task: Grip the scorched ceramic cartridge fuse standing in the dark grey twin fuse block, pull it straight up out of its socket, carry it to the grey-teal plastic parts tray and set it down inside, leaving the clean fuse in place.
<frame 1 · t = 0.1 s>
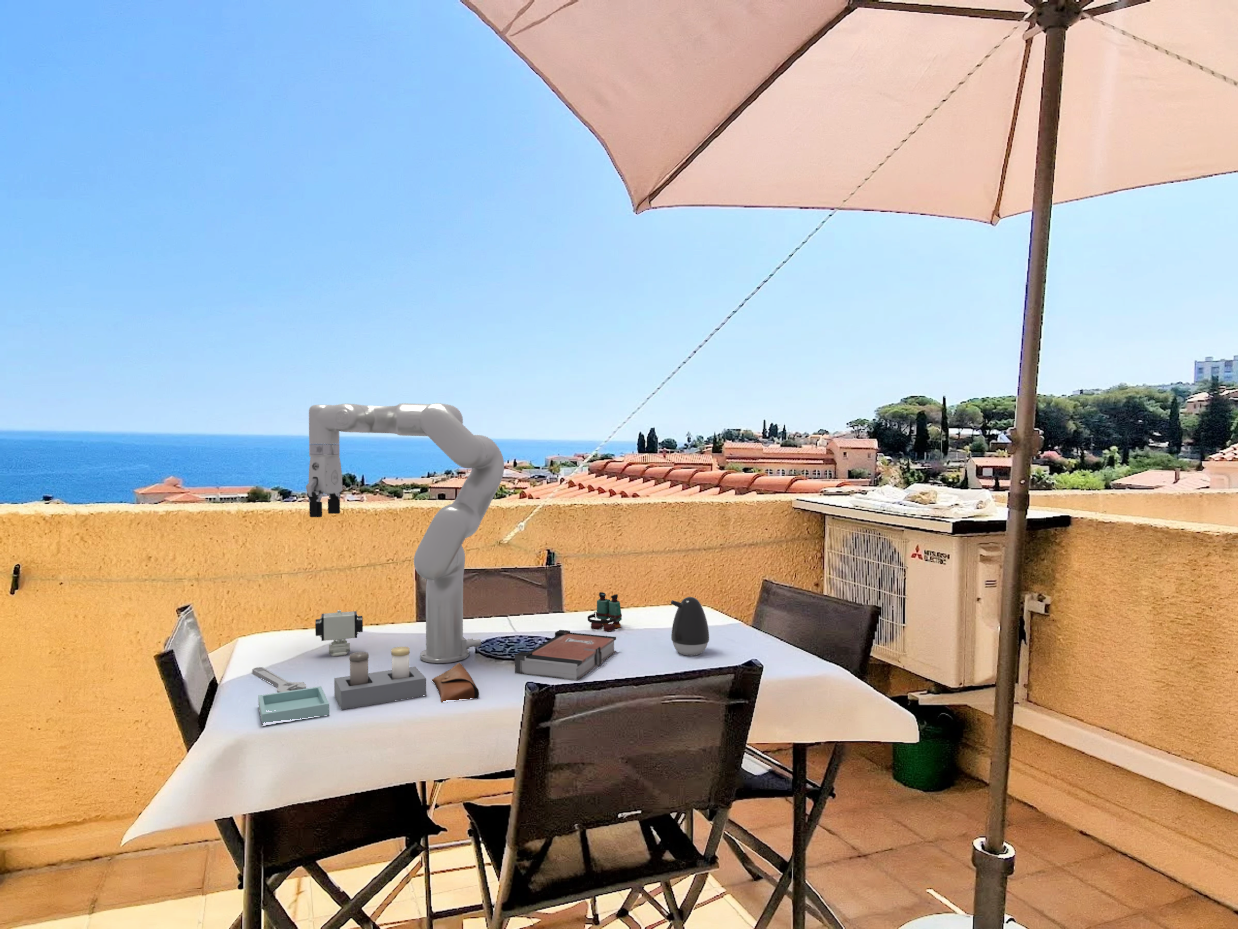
hand: (325, 515, 198), 37 cm above the table, tool pointing down, fingers open, 9 cm apart
pneumatic valve: (339, 655, 199), on the table
sunglasses case: (453, 691, 171), on the table
parts tray: (293, 711, 156), on the table
green twin tank jetpack: (604, 629, 226), on the table
fuse block: (380, 696, 166), on the table
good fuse: (400, 692, 168), resting in fuse block
pump dispenser: (689, 653, 200), on the table
blown fuse: (359, 699, 164), resting in fuse block
book: (569, 664, 192), on the table
adjustable wrench: (279, 685, 175), on the table
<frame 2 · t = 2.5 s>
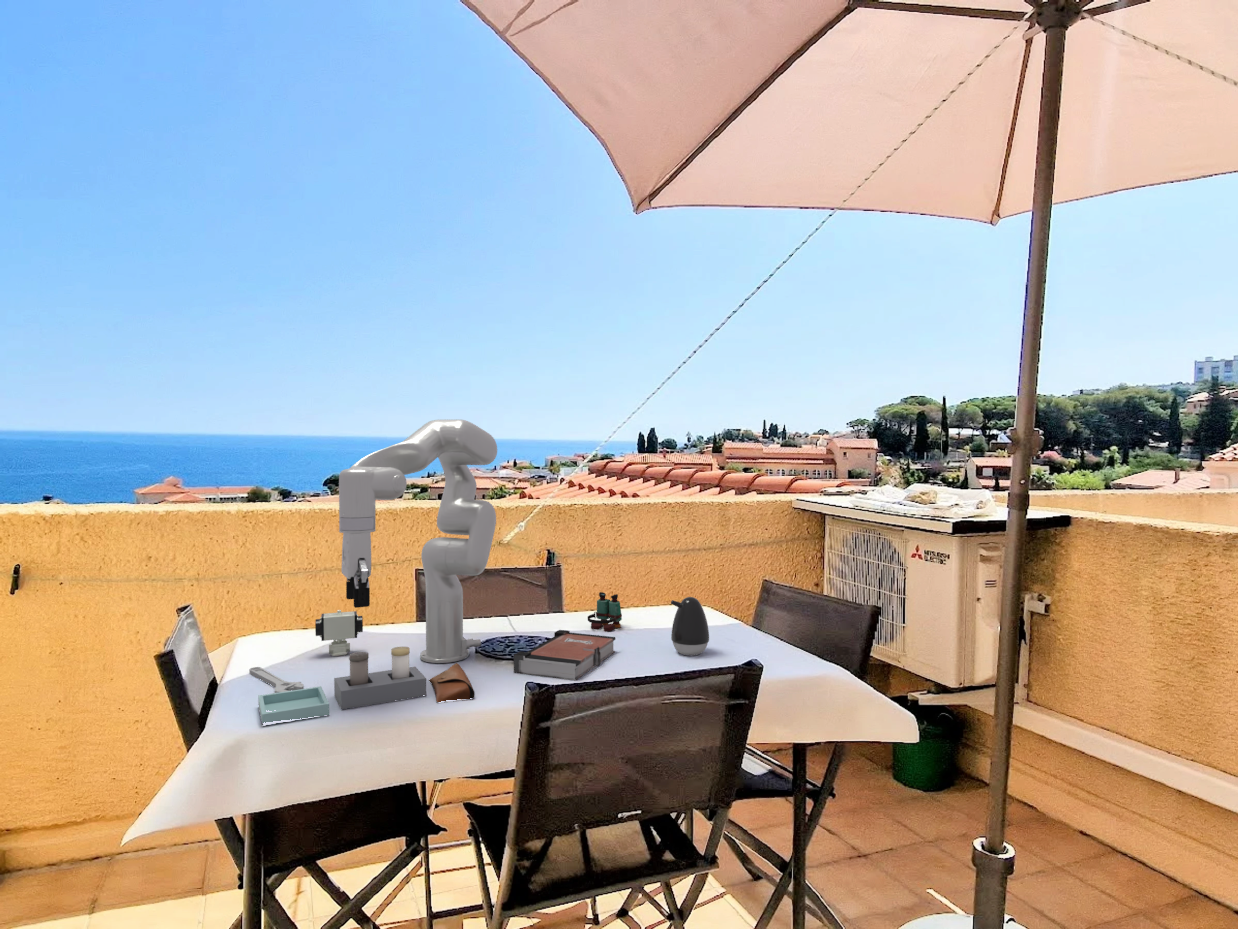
hand: (357, 602, 163), 22 cm above the table, tool pointing down, fingers open, 9 cm apart
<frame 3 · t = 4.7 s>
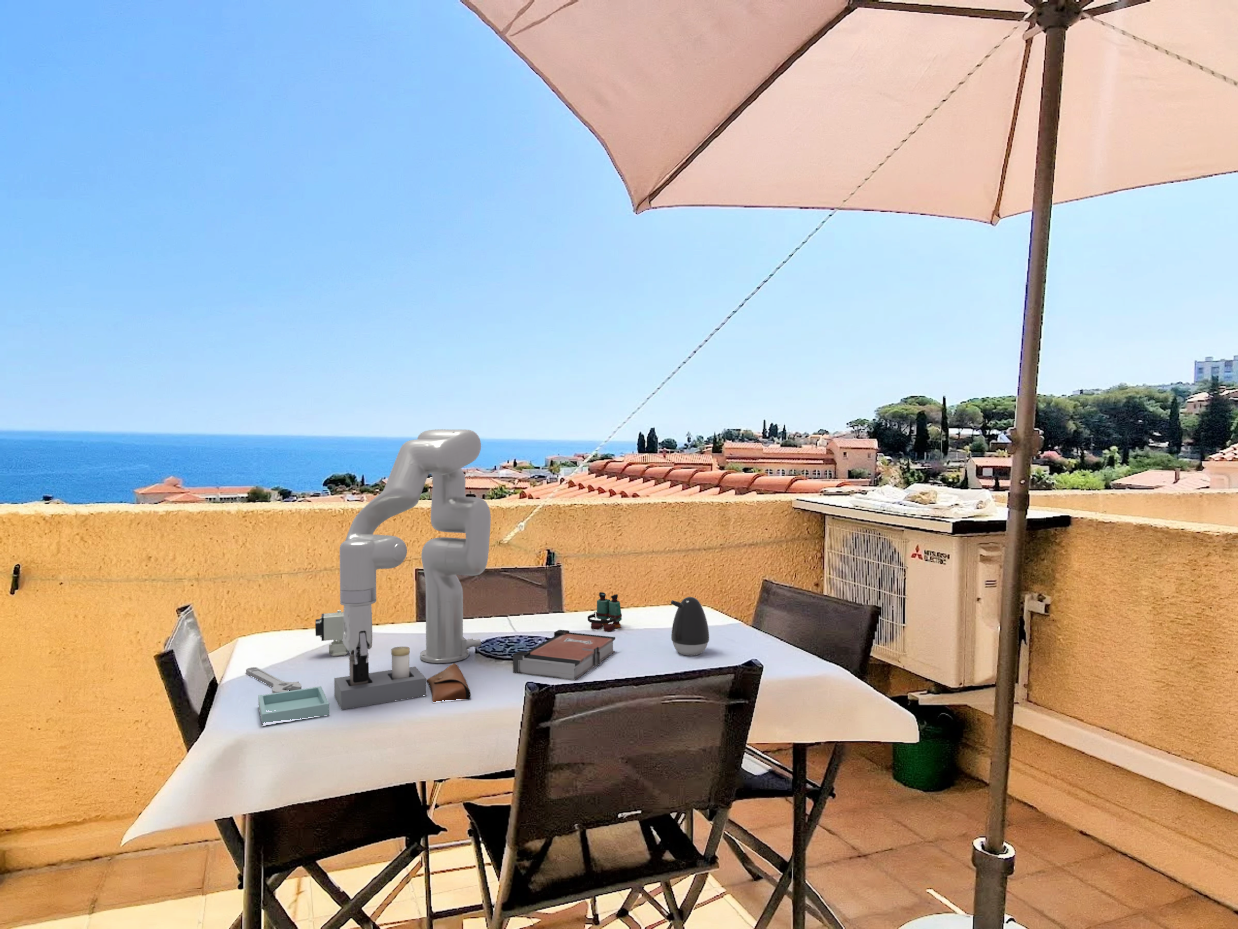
hand: (359, 677, 164), 5 cm above the table, tool pointing down, fingers closed on blown fuse, 3 cm apart
blown fuse: (359, 699, 164), resting in fuse block, touching gripper
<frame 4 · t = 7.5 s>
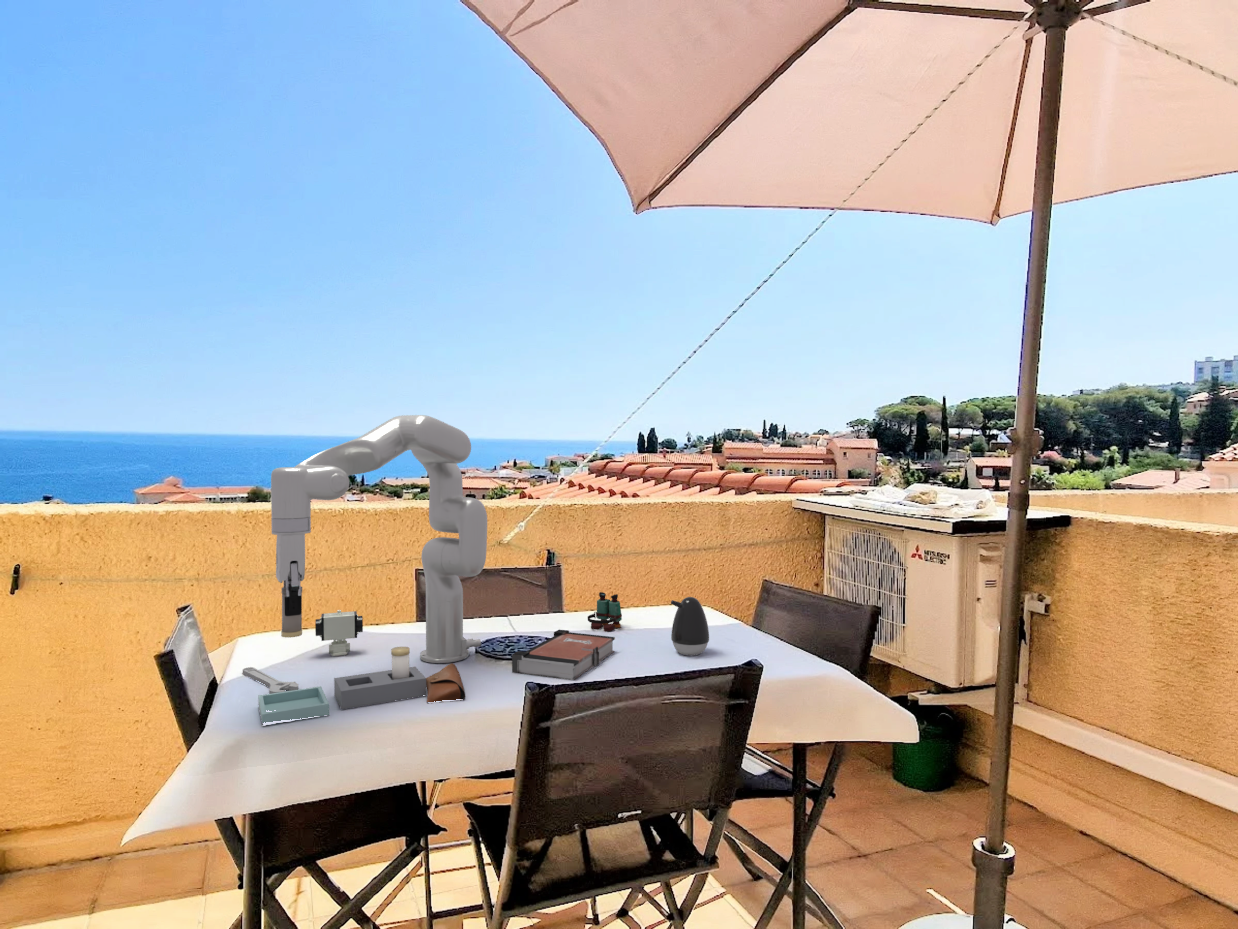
hand: (292, 612, 156), 21 cm above the table, tool pointing down, fingers closed on blown fuse, 3 cm apart
blown fuse: (291, 635, 156), point 16 cm above the table, touching gripper
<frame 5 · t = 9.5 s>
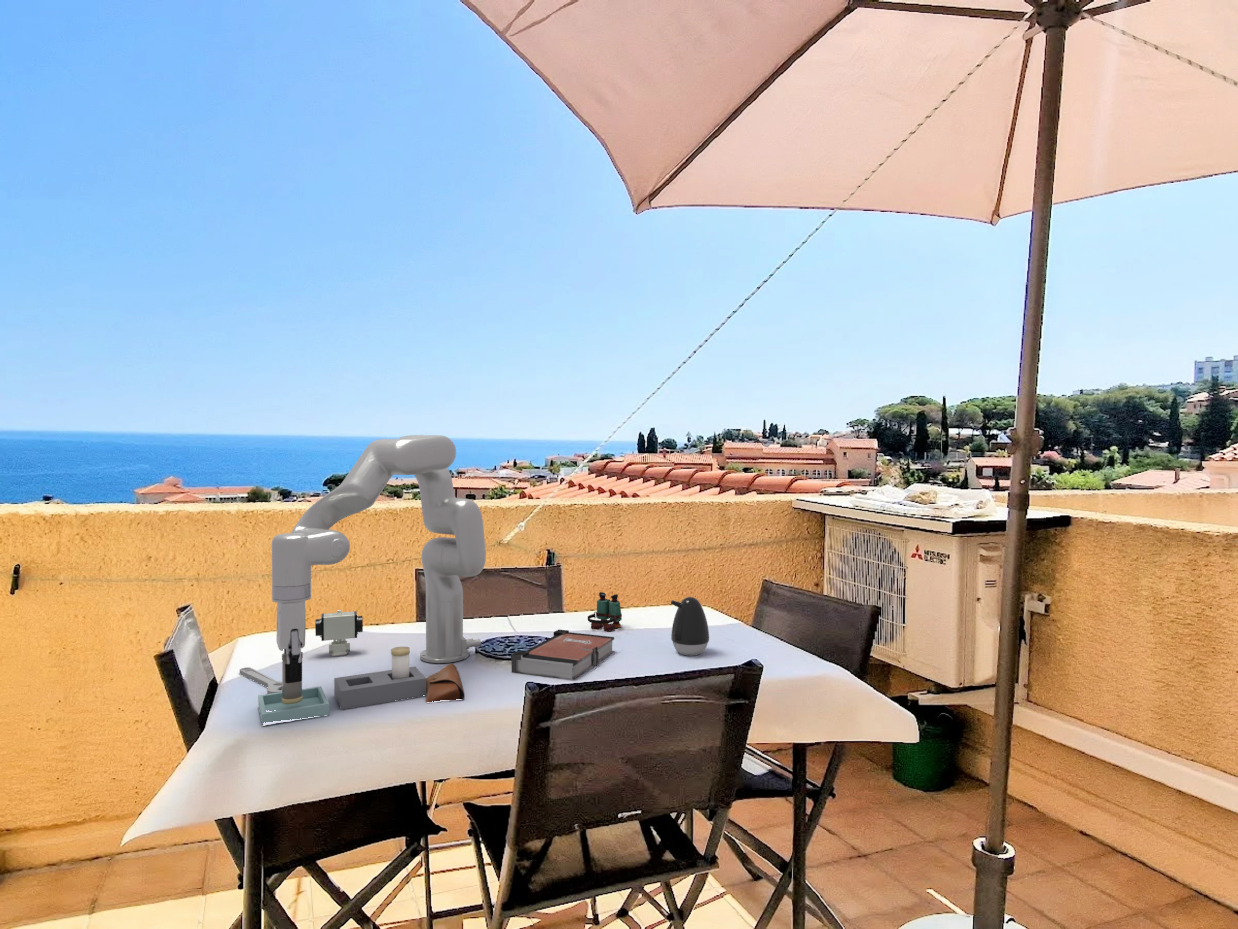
hand: (292, 678, 156), 7 cm above the table, tool pointing down, fingers closed on blown fuse, 3 cm apart
blown fuse: (292, 701, 156), point 2 cm above the table, touching gripper
when the fingers open (6 cm above the table, at t = 10.3 s): blown fuse stays where it is, resting on parts tray.
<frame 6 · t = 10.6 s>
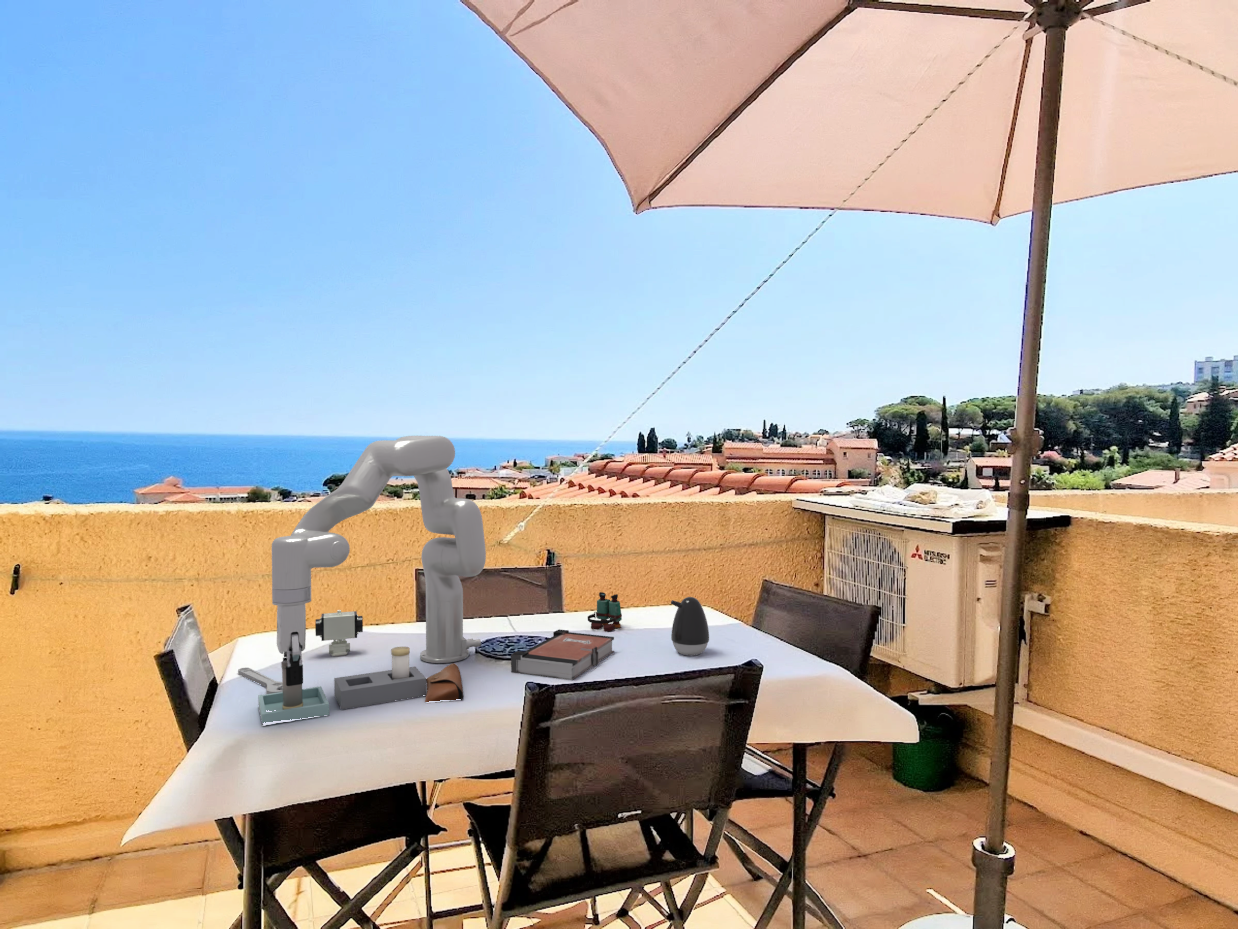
hand: (292, 679, 156), 7 cm above the table, tool pointing down, fingers open, 6 cm apart
blown fuse: (292, 708, 156), point 1 cm above the table, touching parts tray
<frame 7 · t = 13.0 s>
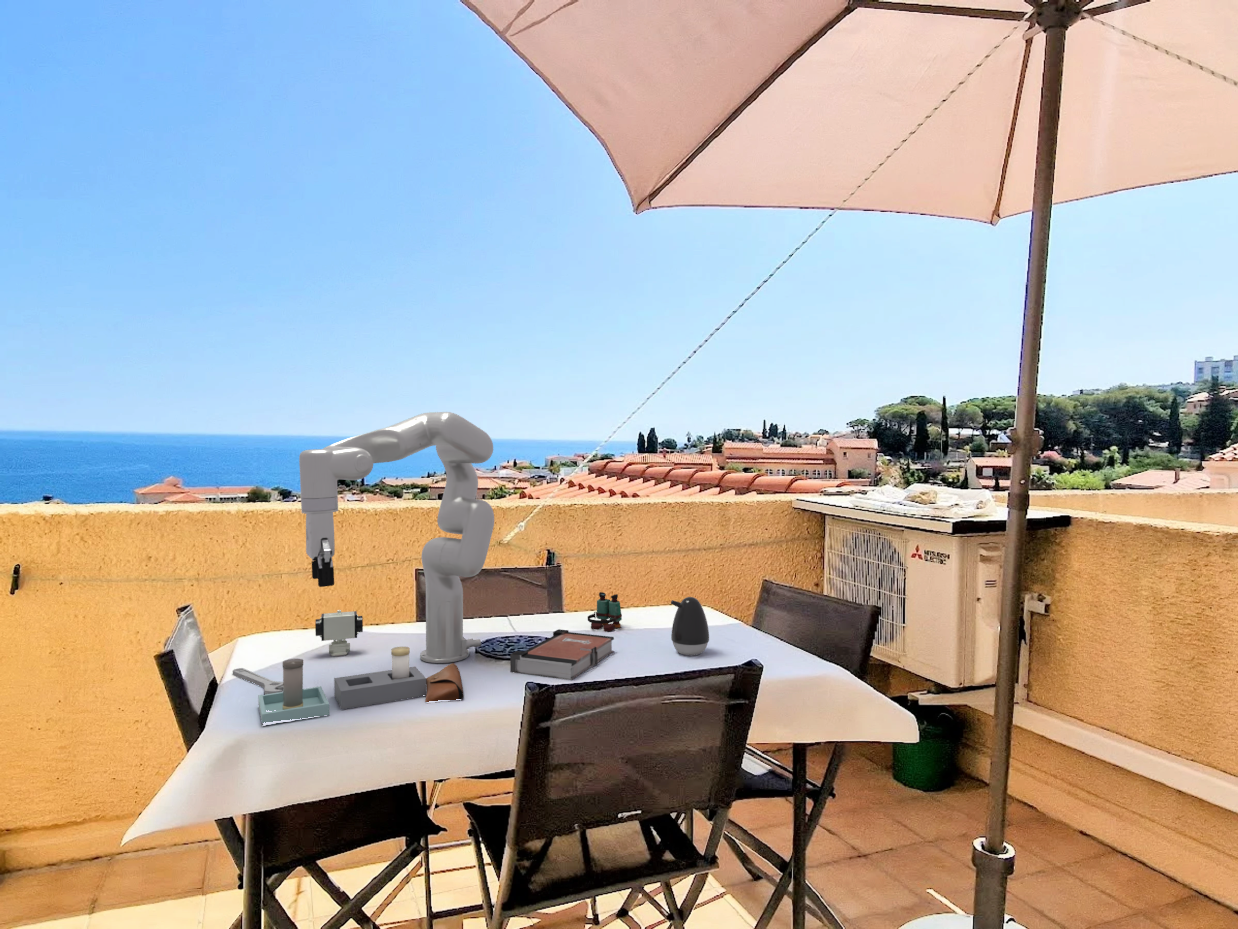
hand: (323, 582, 165), 26 cm above the table, tool pointing down, fingers open, 9 cm apart
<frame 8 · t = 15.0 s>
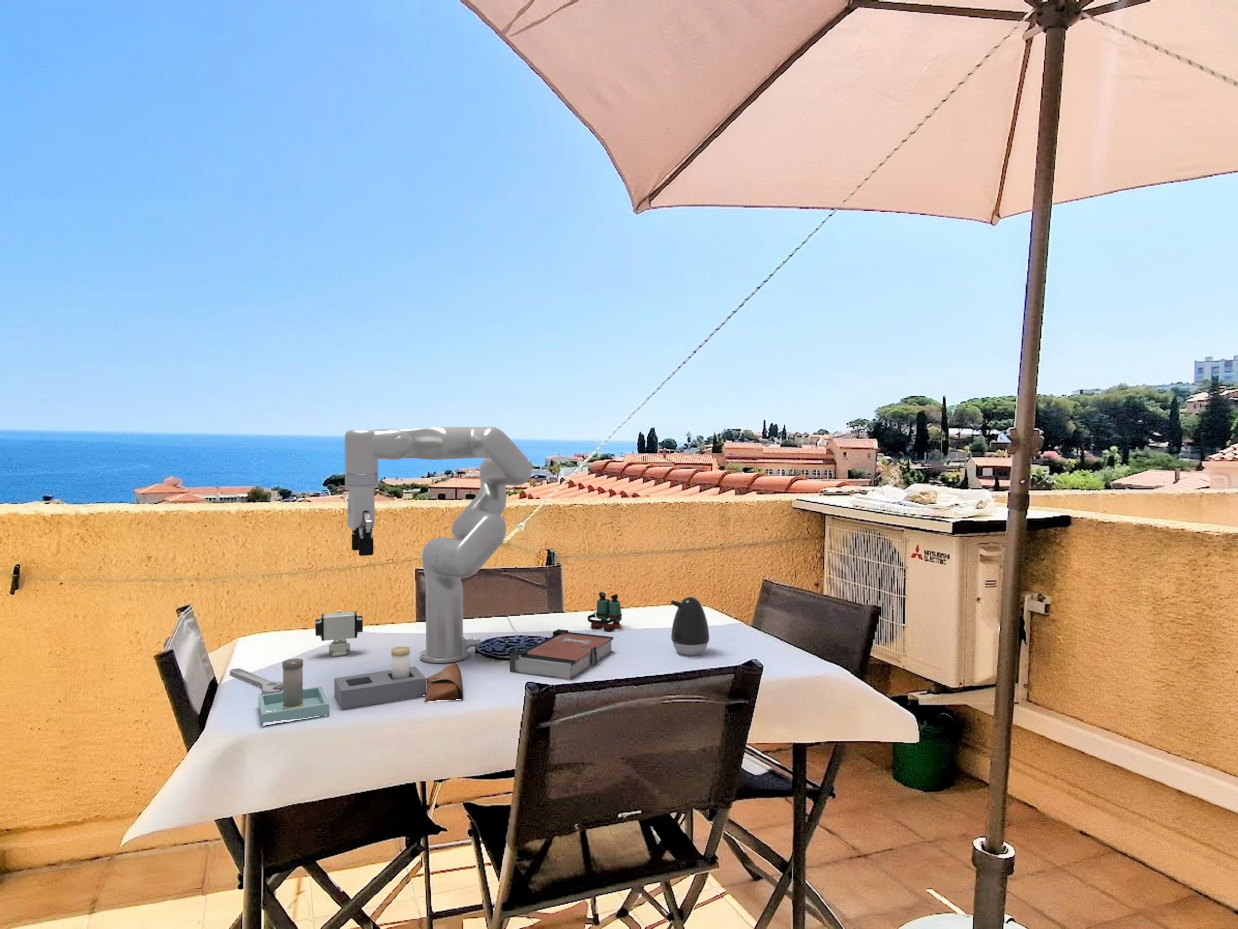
hand: (362, 552, 178), 30 cm above the table, tool pointing down, fingers open, 9 cm apart
at the end: blown fuse inside the target area on the parts tray (0.1 cm from its centre), point 0.6 cm above the parts tray's base; the gripper is holding nothing; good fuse moved 0.0 cm from its start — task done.
